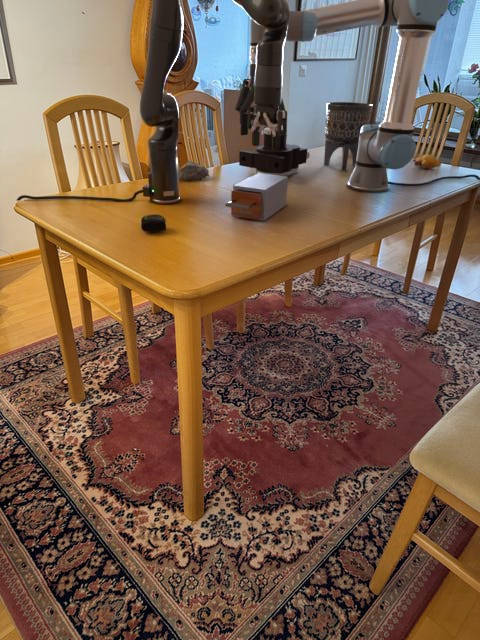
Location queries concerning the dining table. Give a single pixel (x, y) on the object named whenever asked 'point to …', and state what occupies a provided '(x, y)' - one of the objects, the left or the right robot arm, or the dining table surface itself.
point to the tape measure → (153, 223)
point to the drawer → (245, 204)
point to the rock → (192, 172)
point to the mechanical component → (274, 157)
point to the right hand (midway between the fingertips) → (258, 137)
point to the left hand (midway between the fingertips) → (265, 148)
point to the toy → (427, 161)
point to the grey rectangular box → (266, 192)
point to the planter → (344, 129)
